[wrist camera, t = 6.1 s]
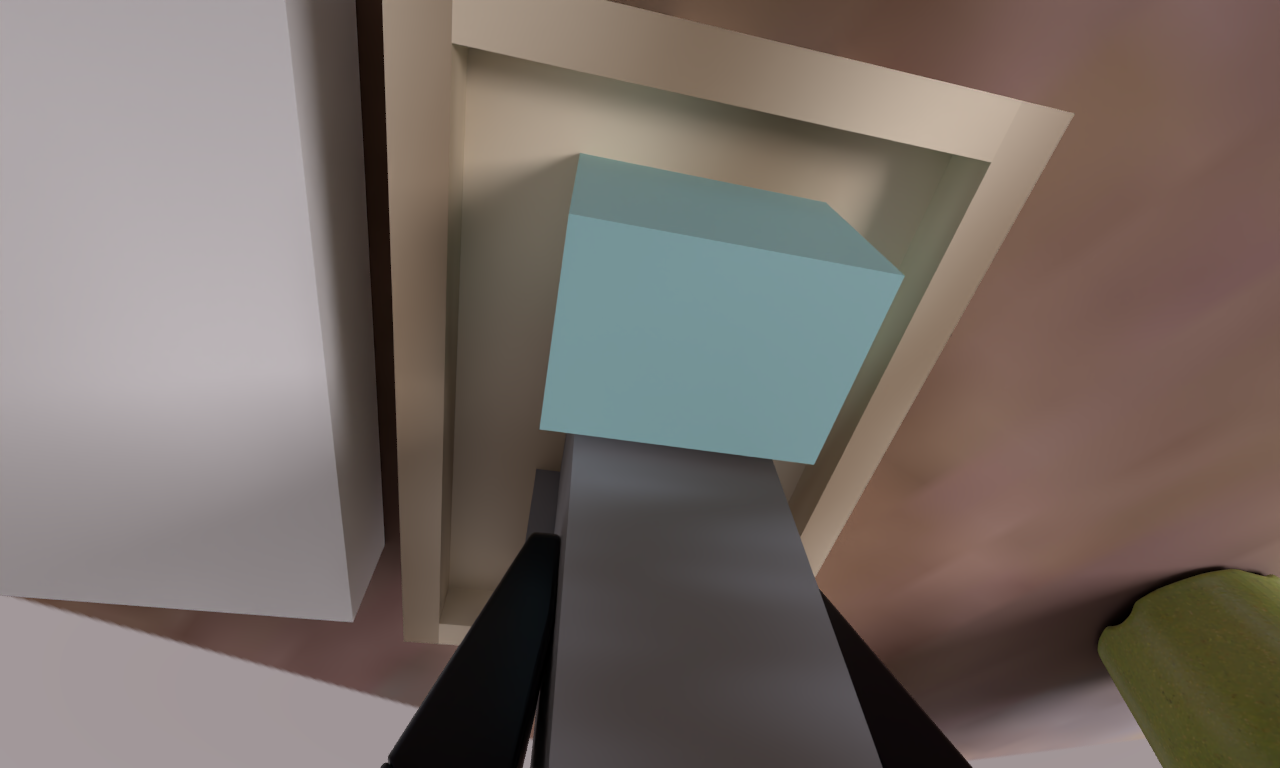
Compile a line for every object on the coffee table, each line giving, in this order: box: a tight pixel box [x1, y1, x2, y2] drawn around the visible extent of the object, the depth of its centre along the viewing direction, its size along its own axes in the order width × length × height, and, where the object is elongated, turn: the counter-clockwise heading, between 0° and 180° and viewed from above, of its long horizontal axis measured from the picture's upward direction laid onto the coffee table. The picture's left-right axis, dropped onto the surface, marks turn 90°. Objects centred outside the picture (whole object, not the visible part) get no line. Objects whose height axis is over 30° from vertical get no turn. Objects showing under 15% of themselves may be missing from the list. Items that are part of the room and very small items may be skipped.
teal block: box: [540, 153, 905, 465], centre depth 9 cm, size 4×3×3 cm
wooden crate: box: [382, 0, 1075, 768], centre depth 10 cm, size 9×13×10 cm
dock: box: [0, 0, 385, 622], centre depth 11 cm, size 11×15×2 cm
